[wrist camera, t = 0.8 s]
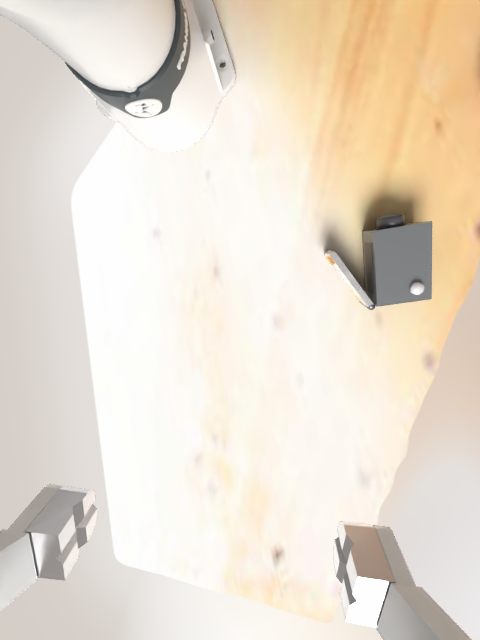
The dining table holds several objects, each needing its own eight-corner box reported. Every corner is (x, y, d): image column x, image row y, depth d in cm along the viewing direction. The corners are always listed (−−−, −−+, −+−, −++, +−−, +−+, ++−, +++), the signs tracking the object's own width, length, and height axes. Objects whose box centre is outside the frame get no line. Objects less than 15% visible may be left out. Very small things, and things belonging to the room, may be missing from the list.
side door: (322, 255, 43) (328, 257, 39) (328, 249, 43) (335, 251, 39) (359, 305, 44) (369, 312, 40) (366, 300, 44) (376, 307, 40)
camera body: (361, 220, 41) (374, 218, 36) (413, 211, 40) (434, 207, 35) (365, 299, 44) (378, 307, 39) (414, 292, 43) (433, 300, 38)
